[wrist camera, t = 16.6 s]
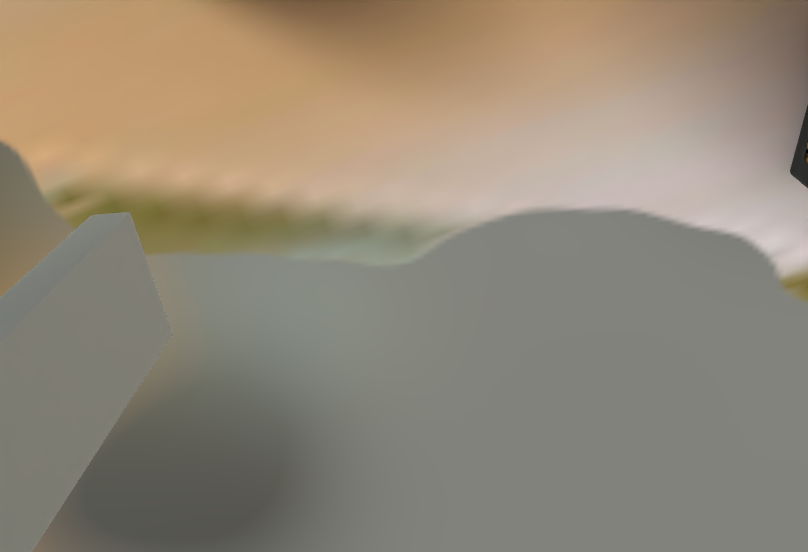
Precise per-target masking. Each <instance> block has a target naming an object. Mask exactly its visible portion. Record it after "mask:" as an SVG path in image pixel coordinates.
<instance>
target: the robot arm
mask: <svg viewBox="0 0 808 552" xmlns="http://www.w3.org/2000/svg"><path fill="white" fill-rule="evenodd" d="M172 335H173V333H172V331H171V328H170V325H169V322H168V319H167V316H166V314H165V311H164V308H163V305H162V302H161V300H160V296H159V294H158V291H157V288H156V285H155V282H154V279H153V277H152V274H151V271H150V268H149V265H148V263H147V260H146V257H145V254H144V251H143V248H142V245H141V243H140V240H139V237H138V234H137V231H136V228H135V226H134V223H133V220H132V217H131V214H130V212H124V213H112V214H99V215H91V216H90V217H89V218H88V219H86V220H85V221H84V222H83V223H82V224H81V225H80V226H79V227H78V228H77V229H75V230H74V231H73V232H72V233H71V234H70V235H69V236H68V237H67V238H65V239H64V240H63V241H62V242H61V243H60V244H59V245H58V246H57V247H56V248H54V249H53V250H52V251H51V252H50V253H49V254H48V255H47V256H46V257H44V258H43V259H42V260H41V261H40V262H39V263H38V264H37V265H36V266H35V267H33V269H31V270H30V271H29V272H28V273H27V274H26V275H25V276H23V277H22V278H21V279H20V280H19V281H18V282H17V283H16V284H15V285H13V286H12V287H11V288H10V289H9V290H8V291H7V292H6V293H5V294H4V295H2V296H1V297H0V552H32V551H33V549H34V548H35V546H36V545H37V543H38V542H39V540H40V538H41V537H42V535H43V534H44V532H45V531H46V529H47V528H48V526H49V525H50V523H51V521H52V520H53V518H54V517H55V515H56V514H57V512H58V511H59V509H60V508H61V506H62V505H63V503H64V501H65V500H66V498H67V497H68V495H69V494H70V492H71V491H72V489H73V488H74V486H75V485H76V483H77V481H78V480H79V478H80V477H81V475H82V474H83V472H84V470H85V469H86V468H87V466H88V464H89V463H90V461H91V460H92V458H93V457H94V455H95V454H96V452H97V450H98V449H99V448H100V446H101V444H102V443H103V441H104V440H105V438H106V437H107V435H108V434H109V432H110V431H111V429H112V427H113V426H114V424H115V422H116V421H117V420H118V418H119V416H120V415H121V413H122V412H123V411H124V409H125V407H126V406H127V404H128V403H129V401H130V400H131V398H132V397H133V395H134V394H135V392H136V390H137V389H138V387H139V386H140V384H141V383H142V381H143V380H144V378H145V377H146V375H147V373H148V372H149V370H150V369H151V367H152V366H153V364H154V363H155V361H156V360H157V358H158V356H159V355H160V353H161V352H162V350H163V349H164V347H165V346H166V344H167V343H168V341H169V340H170V338H171V336H172Z"/></svg>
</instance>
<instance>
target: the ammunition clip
mask: <svg viewBox="0 0 808 552" xmlns="http://www.w3.org/2000/svg"><path fill="white" fill-rule="evenodd" d="M790 172H791V174H792V175H793V176H794V177H795V178H796V179H798V180H799V181H800V182H801V183H802V184H804V185H805V186H806V187H807V188H808V106H807V110H806V113H805V117H804V121H803V125H802V128H801V132H800V136H799V139H798V143H797V147H796V151H795V154H794V158H793V162H792V166H791V169H790Z"/></svg>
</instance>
